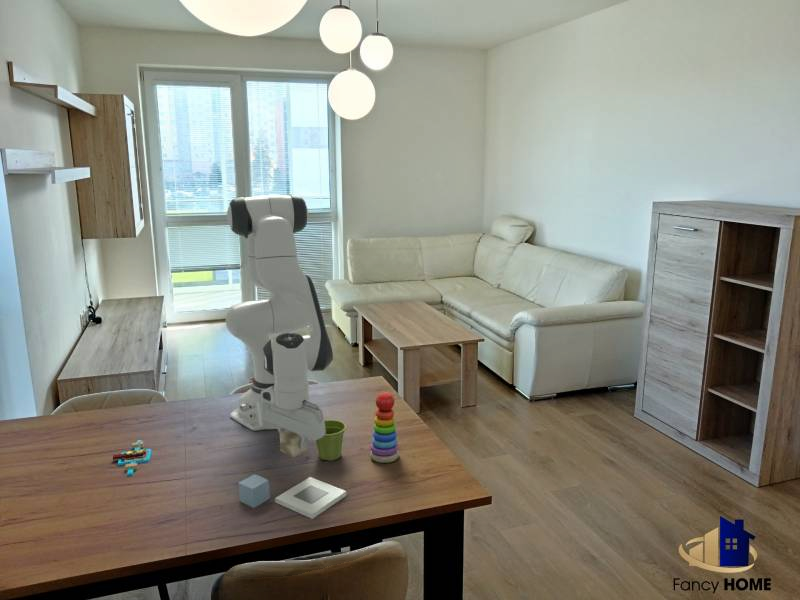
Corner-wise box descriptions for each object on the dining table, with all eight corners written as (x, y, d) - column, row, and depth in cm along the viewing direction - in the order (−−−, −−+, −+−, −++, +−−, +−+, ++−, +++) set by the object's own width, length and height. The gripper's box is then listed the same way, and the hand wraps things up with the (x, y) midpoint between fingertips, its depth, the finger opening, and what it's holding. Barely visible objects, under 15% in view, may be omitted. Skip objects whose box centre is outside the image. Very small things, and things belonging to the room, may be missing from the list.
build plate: (275, 502, 145) (275, 497, 145) (310, 481, 155) (310, 476, 154) (312, 518, 138) (312, 513, 138) (346, 495, 148) (346, 490, 148)
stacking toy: (395, 465, 162) (395, 400, 158) (367, 462, 164) (365, 397, 160) (401, 452, 170) (401, 389, 166) (374, 449, 171) (372, 387, 167)
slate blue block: (239, 501, 146) (238, 482, 145) (255, 492, 150) (254, 474, 149) (253, 508, 143) (252, 489, 142) (269, 498, 147) (268, 480, 146)
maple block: (280, 451, 159) (279, 434, 158) (294, 443, 163) (293, 426, 162) (294, 457, 157) (293, 439, 155) (307, 449, 161) (307, 432, 159)
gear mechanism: (107, 480, 157) (146, 475, 159) (105, 461, 155) (144, 456, 158) (119, 446, 175) (154, 441, 178) (117, 428, 174) (152, 424, 177)
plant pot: (319, 467, 162) (318, 437, 160) (308, 452, 170) (306, 423, 168) (352, 459, 166) (351, 430, 164) (339, 445, 174) (338, 417, 172)
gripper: (330, 402, 153) (331, 451, 156) (273, 382, 164) (276, 429, 168) (313, 411, 148) (314, 461, 151) (256, 390, 159) (258, 438, 163)
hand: (293, 444), depth 160 cm, fingers closed on maple block, 5 cm apart
